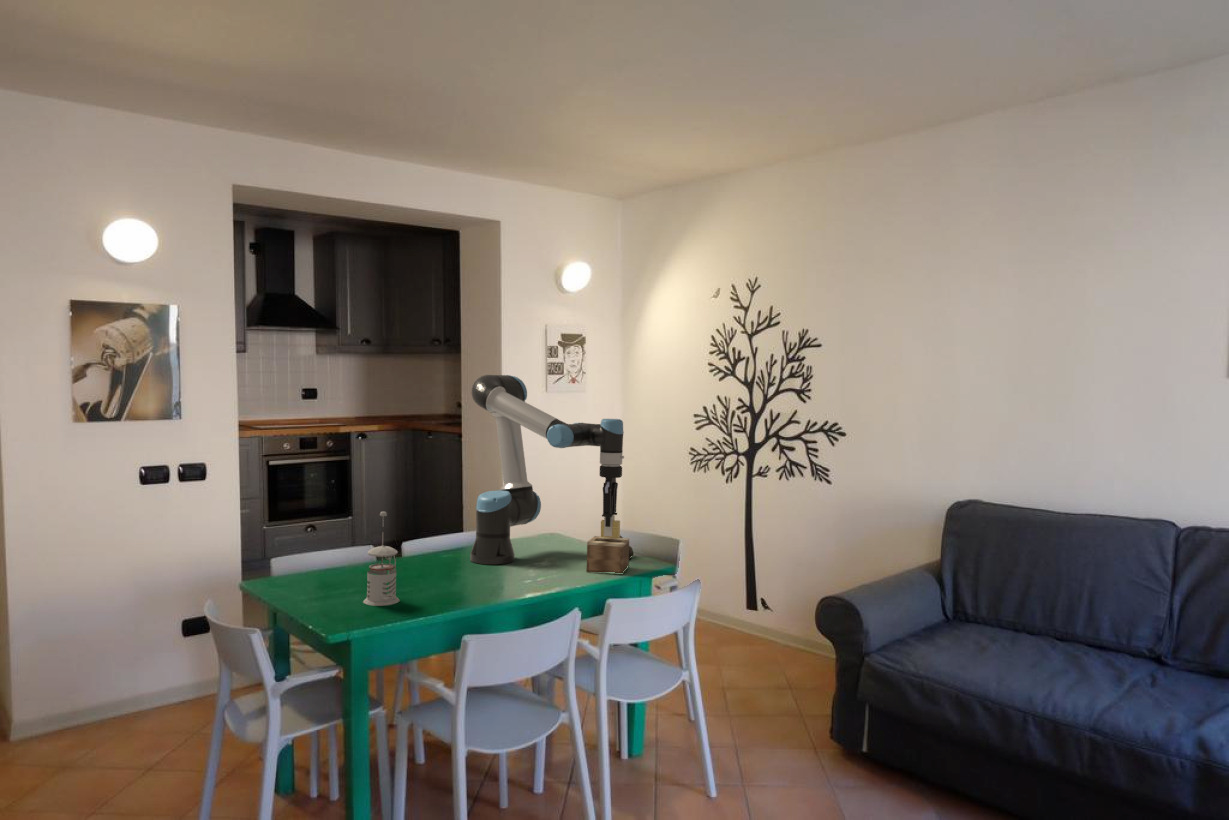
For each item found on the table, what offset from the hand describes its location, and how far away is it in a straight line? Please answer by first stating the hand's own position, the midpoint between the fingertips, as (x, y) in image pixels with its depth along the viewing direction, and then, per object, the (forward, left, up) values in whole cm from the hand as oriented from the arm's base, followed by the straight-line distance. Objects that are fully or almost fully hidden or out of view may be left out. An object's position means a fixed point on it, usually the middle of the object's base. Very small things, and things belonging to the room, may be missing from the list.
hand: (609, 535), depth 274 cm
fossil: (0, +20, -12) cm, 24 cm away
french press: (-52, -57, -12) cm, 78 cm away
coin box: (0, 0, -12) cm, 12 cm away
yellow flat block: (0, 0, -1) cm, 1 cm away
